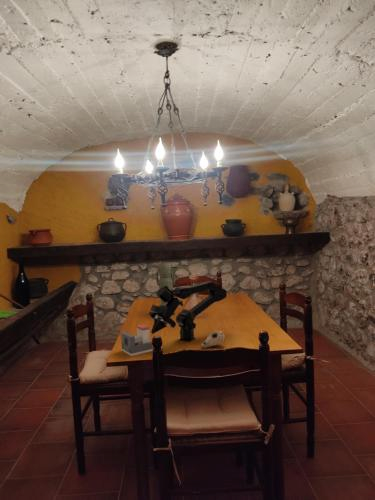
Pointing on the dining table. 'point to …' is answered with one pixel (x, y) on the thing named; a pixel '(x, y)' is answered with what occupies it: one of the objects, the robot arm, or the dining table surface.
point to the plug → (142, 334)
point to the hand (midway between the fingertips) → (151, 333)
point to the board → (137, 352)
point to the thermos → (165, 277)
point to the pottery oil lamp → (213, 339)
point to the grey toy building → (133, 344)
